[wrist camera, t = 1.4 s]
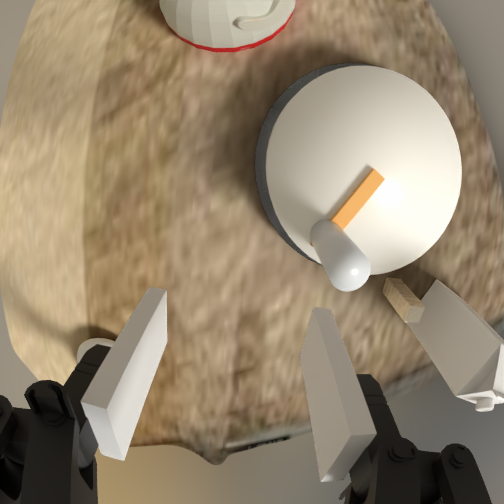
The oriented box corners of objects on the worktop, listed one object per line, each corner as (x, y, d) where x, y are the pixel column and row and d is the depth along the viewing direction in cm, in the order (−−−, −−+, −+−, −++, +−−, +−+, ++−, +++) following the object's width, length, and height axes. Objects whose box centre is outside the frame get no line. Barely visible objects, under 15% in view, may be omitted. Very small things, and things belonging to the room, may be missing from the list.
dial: (347, 34, 24) (390, -8, 13) (472, 166, 28) (538, 183, 17) (223, 184, 29) (205, 210, 19) (368, 296, 33) (405, 355, 23)
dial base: (269, 48, 26) (273, 26, 20) (453, 100, 27) (489, 97, 20) (239, 276, 35) (236, 308, 28) (411, 294, 36) (435, 323, 29)
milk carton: (435, 277, 35) (523, 366, 17) (462, 298, 36) (539, 380, 18) (403, 320, 37) (470, 423, 19) (432, 337, 38) (495, 429, 21)
